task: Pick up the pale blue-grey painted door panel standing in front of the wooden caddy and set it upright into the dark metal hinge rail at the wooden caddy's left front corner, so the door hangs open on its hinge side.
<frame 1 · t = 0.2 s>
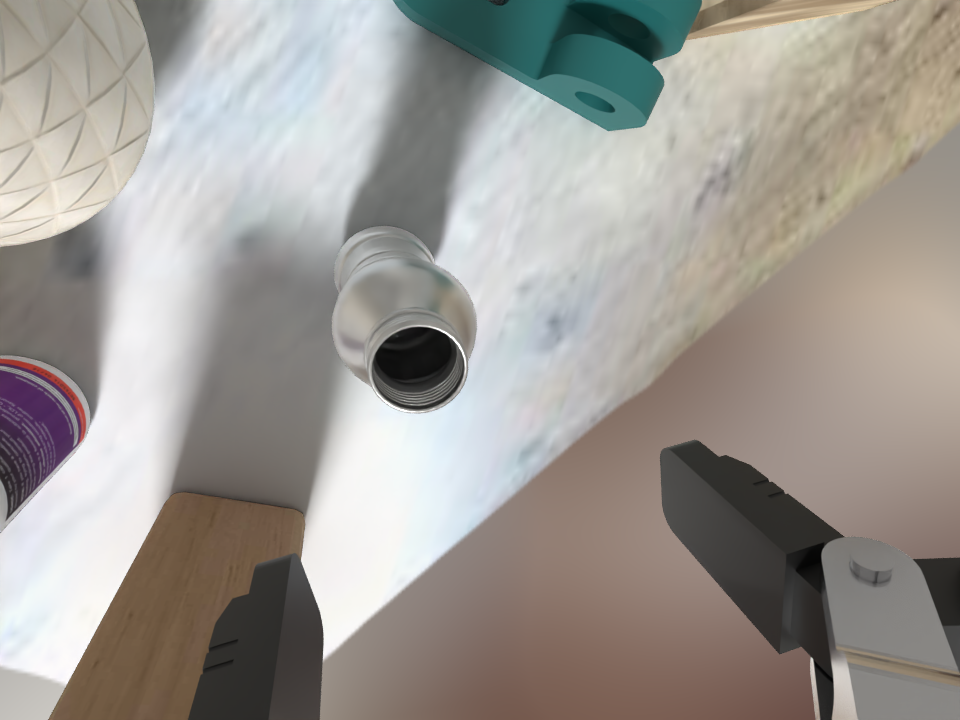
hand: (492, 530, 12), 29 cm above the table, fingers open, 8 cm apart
plastic bottle: (384, 268, 38), on the table
bracket 2: (516, 16, 35), on the table
wooden block: (229, 547, 43), on the table
pill bottle: (28, 406, 36), on the table
vase: (18, 70, 30), on the table
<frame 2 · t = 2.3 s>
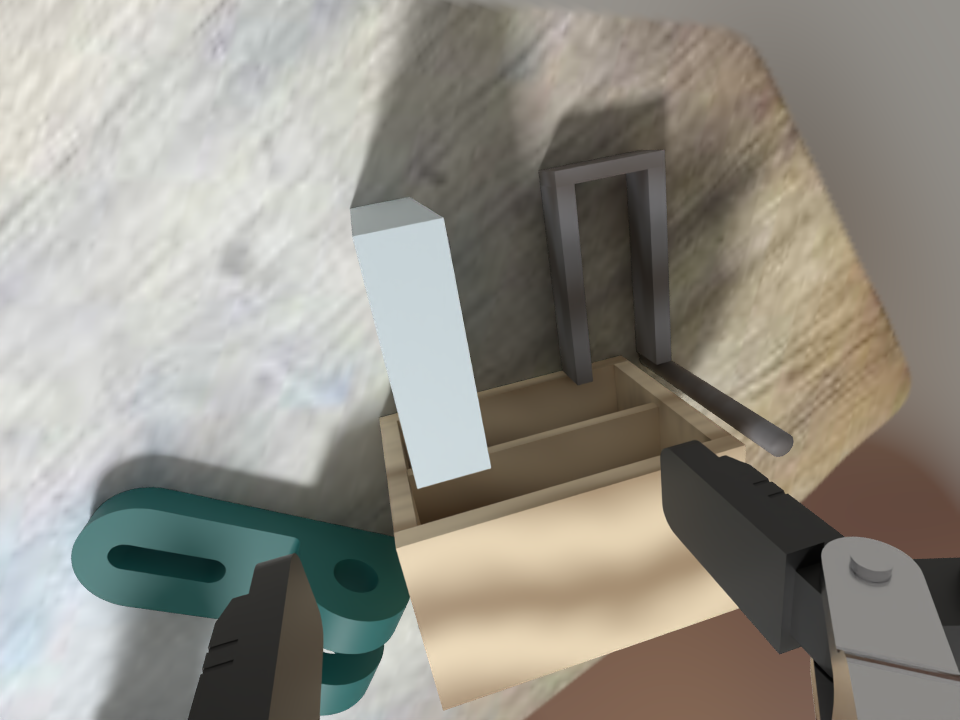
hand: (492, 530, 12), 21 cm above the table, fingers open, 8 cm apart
bracket 2: (251, 549, 34), on the table
door: (402, 296, 31), on the table
wooden caddy: (515, 452, 36), on the table
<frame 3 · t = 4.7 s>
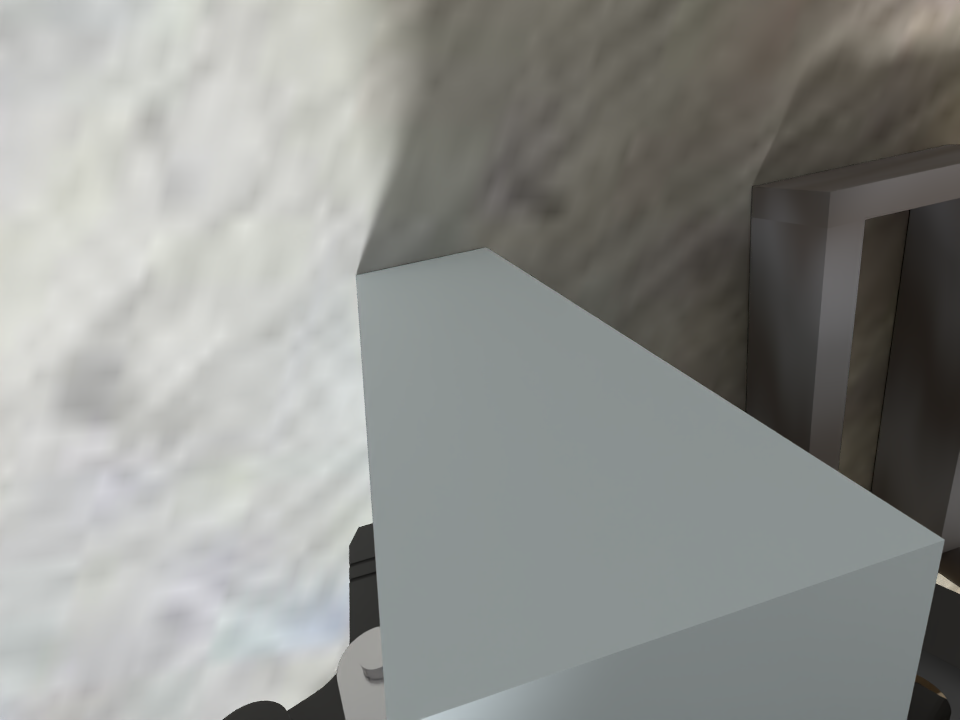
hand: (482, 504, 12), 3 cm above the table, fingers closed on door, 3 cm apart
door: (461, 447, 15), on the table, touching gripper
wooden caddy: (646, 682, 20), on the table
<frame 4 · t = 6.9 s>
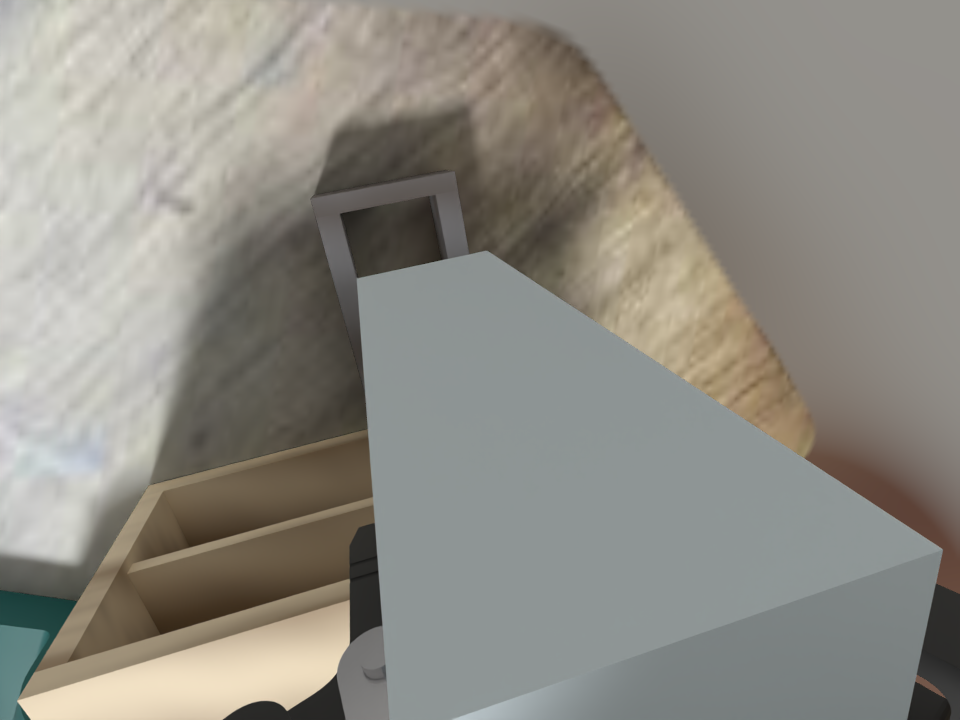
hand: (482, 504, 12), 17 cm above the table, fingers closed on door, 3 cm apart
bracket 2: (15, 636, 29), on the table
door: (461, 449, 15), point 14 cm above the table, touching gripper
wooden caddy: (331, 519, 31), on the table
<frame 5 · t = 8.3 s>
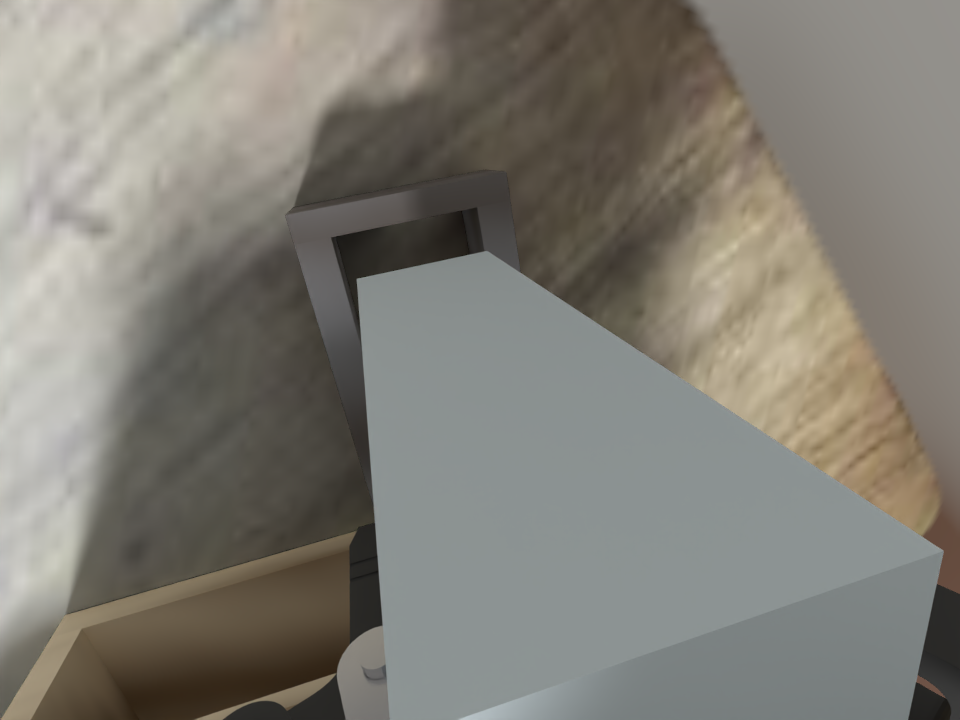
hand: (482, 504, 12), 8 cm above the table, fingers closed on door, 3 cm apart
door: (462, 450, 15), point 5 cm above the table, touching gripper
wooden caddy: (323, 642, 23), on the table
when the fingers open (4 cm above the table, at t = 9.5 s): door stays where it is, resting in wooden caddy.
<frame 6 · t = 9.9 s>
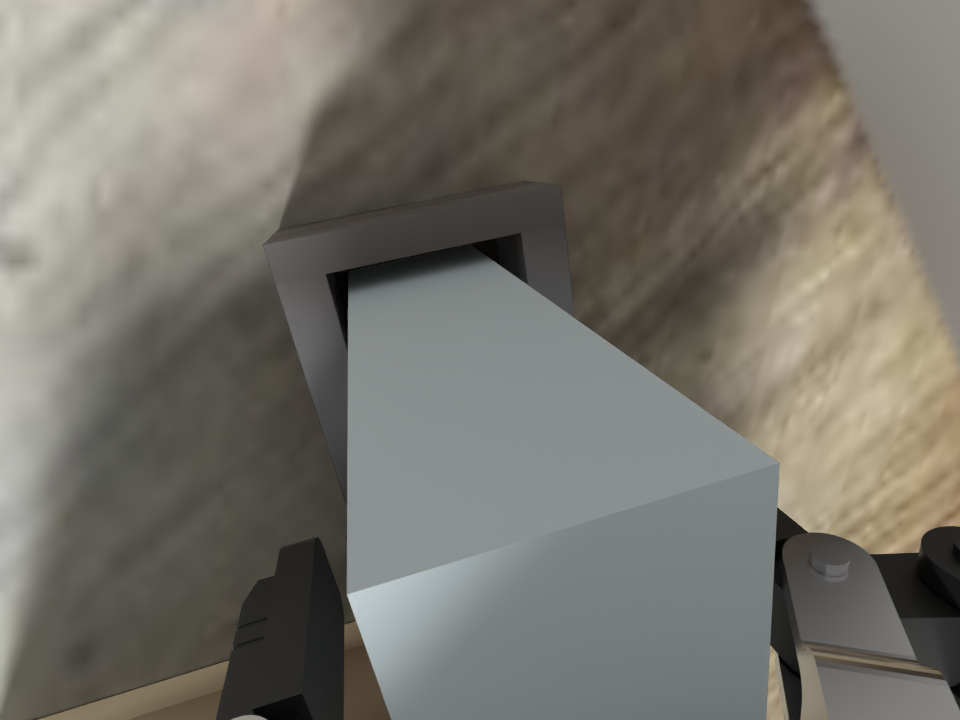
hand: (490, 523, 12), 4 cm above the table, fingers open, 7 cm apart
door: (449, 433, 16), resting in wooden caddy
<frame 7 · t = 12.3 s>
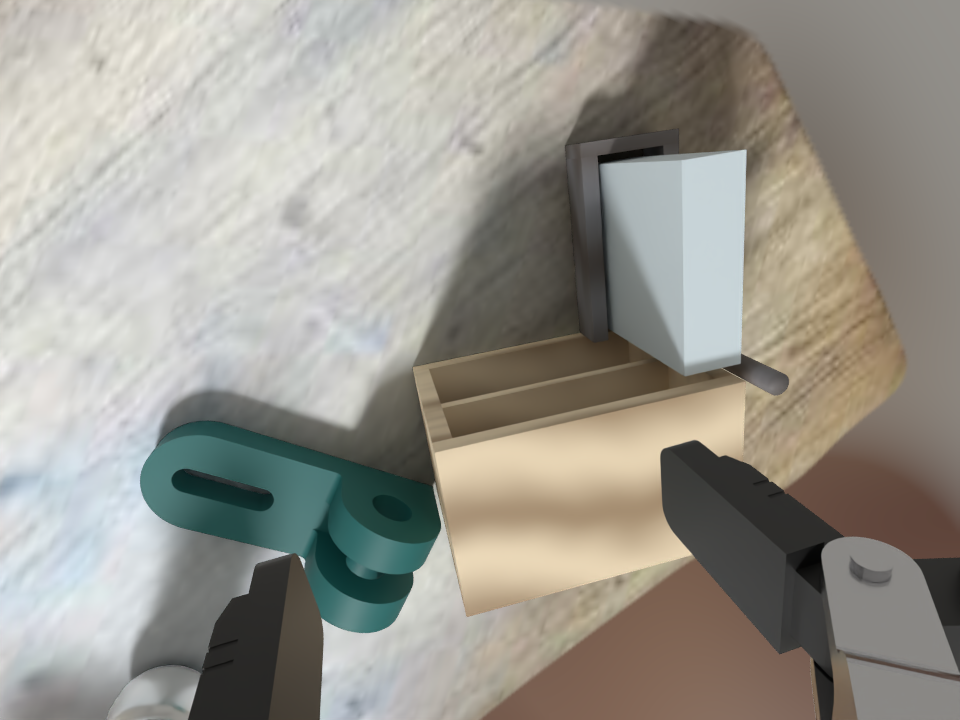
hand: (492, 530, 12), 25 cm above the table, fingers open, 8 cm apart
plastic bottle: (174, 683, 40), on the table
bracket 2: (294, 487, 38), on the table
door: (614, 243, 36), resting in wooden caddy
wooden caddy: (534, 408, 39), on the table
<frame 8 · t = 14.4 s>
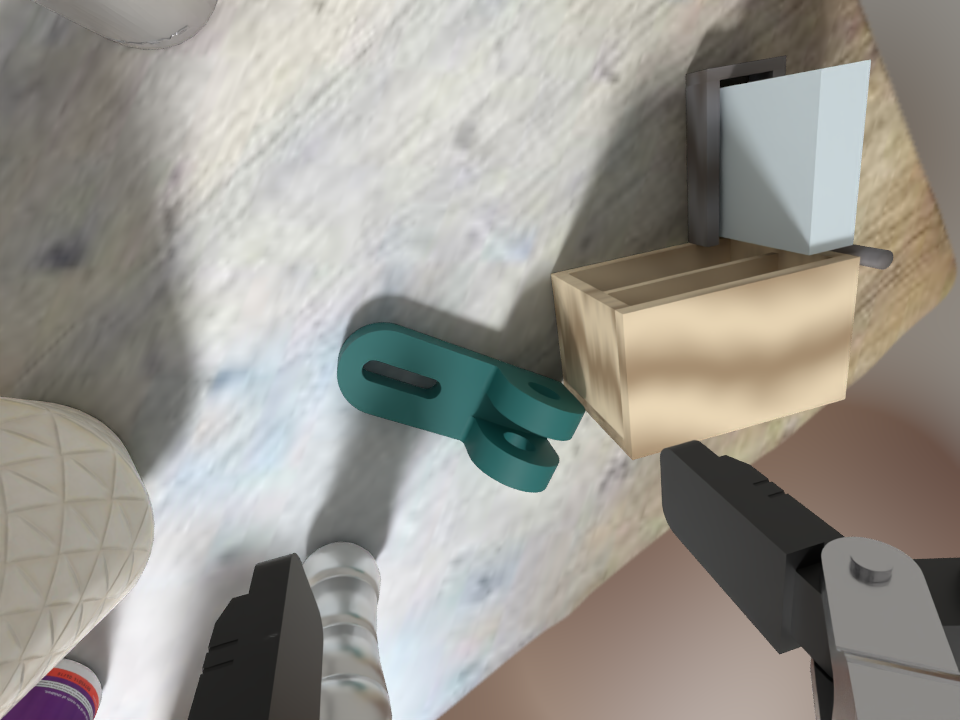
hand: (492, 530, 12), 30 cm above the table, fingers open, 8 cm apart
plastic bottle: (340, 560, 47), on the table
bracket 2: (448, 384, 44), on the table
pill bottle: (52, 684, 45), on the table
door: (721, 161, 42), resting in wooden caddy
wooden caddy: (647, 311, 45), on the table
vase: (48, 469, 39), on the table
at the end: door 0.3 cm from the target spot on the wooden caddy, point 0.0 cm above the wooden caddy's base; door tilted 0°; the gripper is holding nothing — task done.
